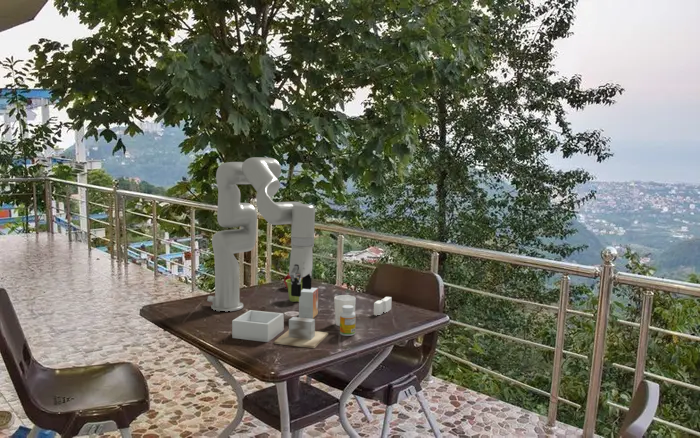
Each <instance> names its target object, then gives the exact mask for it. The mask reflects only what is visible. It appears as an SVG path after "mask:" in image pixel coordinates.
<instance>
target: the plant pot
mask: <svg viewBox="0 0 700 438" xmlns="http://www.w3.org/2000/svg"><path fill="white" fill-rule="evenodd" d="M298 279H299V278H297V280H298ZM286 282H287V286H288V288H287V291H288V292H287V293H288V299H289V301H290V302H293V303H294V302H298V303H299V297H297V296H291V279H287V280H286ZM300 284H301V290H302V289H303V288H302V279H301V282H300Z"/></svg>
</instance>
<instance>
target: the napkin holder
mask: <svg viewBox="0 0 700 438" xmlns="http://www.w3.org/2000/svg"><path fill="white" fill-rule="evenodd" d="M390 310H392V296H385V297H384V298H382V299H381V300H380V299H379V300H378V299H377V300H376V301H375V302H374V303H373V315H374V316H377V315H380V316H381V315H382V314H387V313H388V312H389V311H390ZM383 312H384V313H383ZM386 312H387V313H386Z"/></svg>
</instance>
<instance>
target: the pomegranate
mask: <svg viewBox="0 0 700 438" xmlns="http://www.w3.org/2000/svg"><path fill="white" fill-rule="evenodd" d="M287 279H291V277H290V275H289V272H287V273H286V275H285V277H284V280H283V283H284V285H285V288H286V289H288V286H287V282H286V280H287Z"/></svg>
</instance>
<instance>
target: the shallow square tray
mask: <svg viewBox="0 0 700 438" xmlns="http://www.w3.org/2000/svg"><path fill="white" fill-rule="evenodd" d="M284 315H285V314H284V313H283V312H274V311H263V310H262V311H261V310H251V309H250V310H248V311H246V312H244V313H243V314H241V315H239V316H237V317H236V318H234V319H233V320H231V321H232V323H231V327H232V328H231V329H232V331H231V335H232V339H237V340H238V339H241V340H246V341H247V340H248V341H256V342H263V343H264V342H265V343H268V342H270V341H271V340H273V339H274V338H275V337H276V336H278V335H279V334H281V333H282V332H283V331H284V330H285V329H284V326H285V323H284V322H285V321H284V319H285V316H284Z"/></svg>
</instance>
